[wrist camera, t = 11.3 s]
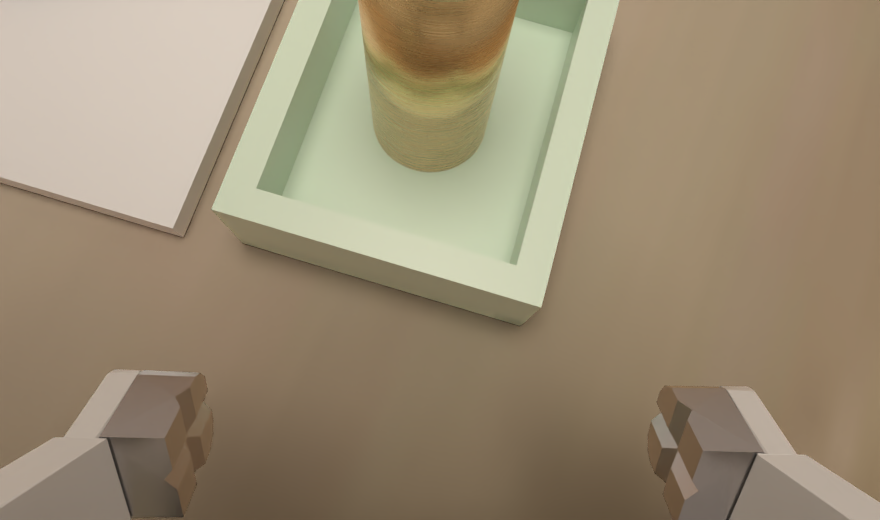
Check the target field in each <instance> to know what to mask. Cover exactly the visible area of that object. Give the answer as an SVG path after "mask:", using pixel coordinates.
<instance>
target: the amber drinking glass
mask: <svg viewBox="0 0 880 520" xmlns="http://www.w3.org/2000/svg"><path fill="white" fill-rule="evenodd" d="M518 2H519V0H358V4H359V12H360V21H361V29H362V37H363V45H364V53H365V61H366V70H367V78H368V86H369V94H370V102H371V111H372V119H373V126H374V132H375V135H376V138H377V140H378V142H379V144H380V145H381V147H382V149H383V150H384V151H385V152H386V153H387V155H389V156H390V157H391V158H392V159H393V160H394V161H396V162H397V163H399V164H401V165H403V166H405V167H407V168H409V169H412V170H416V171H420V172H440V171H445V170H449V169H452V168H454V167H457V166H459V165H460V164H462V163H464V162H465V161H466V160H468V159H469V158H470V157H471V156H472V155H473V154H474V153H475V152H476V150H477V149H478V148H479V146H480V144H481V142H482V140H483V137H484V134H485V130H486V127H487V123H488V119H489V115H490V111H491V107H492V103H493V99H494V95H495V91H496V88H497V84H498V80H499V76H500V72H501V68H502V64H503V60H504V56H505V53H506V49H507V45H508V41H509V37H510V33H511V29H512V25H513V21H514V17H515V14H516V10H517V6H518Z"/></svg>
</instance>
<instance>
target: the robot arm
mask: <svg viewBox="0 0 880 520" xmlns="http://www.w3.org/2000/svg"><path fill="white" fill-rule="evenodd" d="M207 392H208V388H207V383H206V379H205V376H204V375H203V374H201V373H192V372H172V371H152V370H144V371H140V370H121V369H115V370H113V371H111V372H109V373H108V374H107V375H106V376H105V378H104V379H103V380H102V382H101V383H100V385H99V386H98V388H97V389H96V391H95V392H94V394H93V395H92V396H91V398H90V399H89V401H88V402H87V404H86V405H85V407H84V408H83V410H82V411H81V412H80V414H79V415H78V417H77V418H76V420H75V421H74V423H73V424H72V425H71V427H70V428H69V430H68V431H67V433H66V434H65V436H64V437H54V438H52V439H50V440H49V441H47V442H45V443H44V444H42V445H40V446H38V447H37V448H35V449H33V450H32V451H30V452H28V453H27V454H25V455H23V456H22V457H20V458H18V459H16V460H15V461H13V462H11V463H10V464H8V465H6V466H5V467H3V468H1V469H0V520H131V518H155V517H184V515H185V513H186V510H187V508H188V505H189V503H190V501H191V498H192V496H193V493H194V491H195V488H196V486H197V482H196V477H195V471H196V470H197V469H199V468H200V467H201V466H203V465H204V464H205V463H206V461H207V458H208V455H209V453H210V450H211V444H212V439H213V433H214V432H213V415H212V410H211V409H210V408H209V407H208V406H207V405H206V404H205V403H204V402H203V401H204V399H205V396H206V394H207ZM657 404H658V407H659V409H660V411H661V413H660V414H659V415H658V416H656V417H655V418H654V419H653V420H651V423H650V427H649V431H648V454H649V459H650V463H651V466H652V468H653V471H654V473H655V474H656V475H657V476H658V477H659V478H661V479H662V480H663V481H664V482H665V483H666V485H665V488H664V491H663V497H664V499H665V502H666V504H667V506H668V509H669V511H670V514H671V516H672V519H673V520H880V503H879V502H878V501H876V500H875V499H873V498H872V497H870V496H869V495H867V494H866V493H864V492H862V491H861V490H859V489H858V488H856V487H855V486H853V485H852V484H850V483H849V482H847V481H845V480H844V479H842V478H841V477H839V476H838V475H836V474H835V473H833V472H832V471H830V470H828V469H827V468H825V467H824V466H822V465H821V464H819V463H818V462H816V461H815V460H813V459H811V458H810V457H808V456H807V455H797V453H796V452H795V450H794V449H793V448H792V446H791V445H790V443H789V442H788V440H787V439H786V437H785V436H784V434H783V433H782V431H781V430H780V428H779V427H778V425H777V424H776V422H775V421H774V419H773V418H772V416H771V415H770V413H769V412H768V410H767V409H766V407H765V406H764V404H763V403H762V401H761V400H760V398H759V397H758V396H757V394H756V393H755V391H754V390H753V389H751V388H750V387H748V386H720V387H710V386H664V387H663V388H662V390H661V391H660V393H659V396H658V399H657Z"/></svg>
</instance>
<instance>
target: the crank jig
mask: <svg viewBox="0 0 880 520" xmlns="http://www.w3.org/2000/svg"><path fill="white" fill-rule="evenodd" d="M283 2H284V0H0V183H3V184H7V185H10V186H13V187H17V188H20V189H23V190H27V191H30V192H33V193H37V194H40V195H43V196H47V197H50V198H53V199H57V200H60V201H63V202H67V203H70V204H73V205H77V206H80V207H83V208H87V209H90V210H94V211H97V212H100V213H104V214H107V215H110V216H114V217H117V218H120V219H124V220H127V221H130V222H134V223H137V224H140V225H144V226H147V227H150V228H154V229H157V230H160V231H164V232H167V233H170V234H174V235H177V236H180V237H184V235H185V233H186V230H187V228H188V225H189V223H190V221H191V218H192V216H193V214H194V211H195V209H196V207H197V204H198V202H199V200H200V197H201V195H202V193H203V190H204V188H205V185H206V183H207V181H208V178H209V176H210V174H211V171H212V169H213V167H214V164H215V162H216V160H217V157H218V155H219V153H220V150H221V148H222V145H223V143H224V141H225V138H226V136H227V134H228V131H229V129H230V127H231V124H232V122H233V120H234V117H235V115H236V113H237V110H238V108H239V105H240V103H241V101H242V98H243V96H244V94H245V91H246V89H247V87H248V84H249V82H250V80H251V77H252V75H253V73H254V70H255V68H256V65H257V63H258V61H259V58H260V56H261V54H262V51H263V49H264V47H265V44H266V42H267V40H268V37H269V35H270V33H271V30H272V28H273V25H274V23H275V21H276V18H277V16H278V14H279V11H280V9H281V7H282V4H283Z"/></svg>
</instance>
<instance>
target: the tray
mask: <svg viewBox="0 0 880 520" xmlns="http://www.w3.org/2000/svg"><path fill="white" fill-rule="evenodd" d="M618 4H619V0H519V2H518V6H517V10H516V14H515V17H514V21H513V25H512V29H511V33H510V37H509V41H508V45H507V49H506V53H505V56H504V60H503V64H502V68H501V72H500V76H499V80H498V84H497V88H496V91H495V95H494V99H493V103H492V107H491V111H490V115H489V119H488V123H487V127H486V130H485V134H484V137H483V140H482V142H481V144H480V146H479V148H478V149H477V150H476V152H475V153H474V154H473V155H472V156H471V157H470V158H469V159H468V160H466V161H465V162H464V163H462V164H460V165H459V166H457V167H454V168H452V169H449V170H445V171H440V172H420V171H416V170H412V169H409V168H407V167H405V166H403V165H401V164H399V163H397V162H396V161H394V160H393V159H392V158H391V157H390V156H389V155H387V153H386V152H385V151H384V150H383V149H382V147H381V145H380V144H379V142H378V140H377V138H376V135H375V132H374V126H373V119H372V111H371V102H370V94H369V86H368V78H367V70H366V61H365V53H364V45H363V37H362V29H361V21H360V12H359V4H358V0H298V3H297V5H296V8H295V10H294V12H293V15H292V17H291V20H290V22H289V24H288V27H287V29H286V32H285V34H284V36H283V39H282V41H281V44H280V46H279V48H278V51H277V53H276V56H275V58H274V60H273V63H272V65H271V68H270V70H269V72H268V75H267V77H266V80H265V82H264V84H263V87H262V89H261V91H260V94H259V96H258V99H257V101H256V103H255V106H254V108H253V111H252V113H251V115H250V118H249V120H248V123H247V125H246V127H245V130H244V132H243V135H242V137H241V139H240V142H239V144H238V147H237V149H236V151H235V154H234V156H233V159H232V161H231V163H230V166H229V168H228V170H227V173H226V175H225V178H224V180H223V182H222V185H221V187H220V190H219V192H218V194H217V197H216V199H215V202H214V204H213V206H212V209H211V210H212V211H213V212H214V213H215V214H216V215H217V216H218V217H219V218H220V219H221V220H222V221H223V223H224V224H225V225H226V226H227V227H228V228H229V229H230V230H231V231H232V232H233V233H234V234H235V236H236V237H237V238H238V239H239V240H240V241H241V242H242V243H244V244H247V245H250V246H254V247H257V248H260V249H264V250H267V251H270V252H274V253H277V254H280V255H284V256H287V257H290V258H294V259H297V260H301V261H304V262H307V263H311V264H314V265H317V266H321V267H324V268H327V269H331V270H334V271H337V272H341V273H344V274H347V275H351V276H354V277H357V278H361V279H364V280H368V281H371V282H374V283H378V284H381V285H384V286H388V287H391V288H394V289H398V290H401V291H404V292H408V293H411V294H414V295H418V296H421V297H424V298H428V299H431V300H434V301H438V302H441V303H445V304H448V305H451V306H455V307H458V308H461V309H465V310H468V311H471V312H475V313H478V314H481V315H485V316H488V317H491V318H495V319H498V320H501V321H505V322H508V323H512V324H515V325H518V326H521V325H522V324H523V323H525V322H526V321H527V320H528V319H529V318H530V317H531V316H532V315H534V314H535V313H536V312H537V311H538V310H539V309H540V308H541V307H542V303H543V299H544V295H545V291H546V287H547V283H548V279H549V275H550V271H551V268H552V264H553V260H554V256H555V252H556V248H557V244H558V240H559V236H560V232H561V228H562V224H563V220H564V216H565V212H566V209H567V205H568V201H569V197H570V193H571V189H572V185H573V181H574V177H575V173H576V169H577V165H578V161H579V157H580V153H581V149H582V146H583V142H584V138H585V134H586V130H587V126H588V122H589V118H590V114H591V110H592V106H593V102H594V98H595V94H596V90H597V87H598V83H599V79H600V75H601V71H602V67H603V63H604V59H605V55H606V51H607V47H608V43H609V39H610V35H611V31H612V27H613V24H614V20H615V16H616V12H617V8H618Z"/></svg>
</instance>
